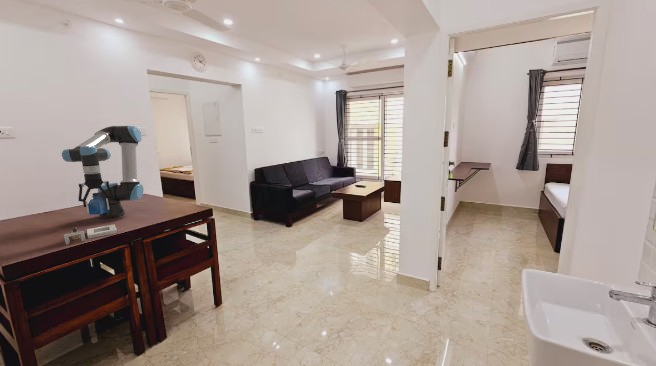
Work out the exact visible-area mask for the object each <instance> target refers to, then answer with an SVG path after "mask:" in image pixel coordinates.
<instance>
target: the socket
mask: <svg viewBox="0 0 656 366" xmlns="http://www.w3.org/2000/svg"><path fill="white" fill-rule="evenodd" d="M86 233H87V235H86V236H87V239H93V238H99V237H104V236H109V235H114V234H118V229H117V227H116V224H115V223H114V224H108V225H103V226H99V227H93V228H86Z"/></svg>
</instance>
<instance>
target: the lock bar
mask: <svg viewBox="0 0 656 366" xmlns="http://www.w3.org/2000/svg"><path fill="white" fill-rule="evenodd" d="M71 229H72V231H71V233H74V232H80V231H79V229H78V228H77V227H75V226H74V227H72V228H71ZM79 239H80V234H78V235H73V236H71V240H73V241H74V240H79Z"/></svg>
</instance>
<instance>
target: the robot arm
mask: <svg viewBox="0 0 656 366" xmlns="http://www.w3.org/2000/svg"><path fill="white" fill-rule="evenodd" d="M141 141H142V133H141V132H140V130H139V128H138V127H137V126H134V125H111V126H107V127H104V128H101V129H99V130H98V131H96V132H95V133H94V135H93V136H91V137H90V138H88V139H87V140H85V141H84V142H81V143H80V144H79V145H77V146H75V147H74V148H67V149H63V150H62V152H61V156H62V160H63V161H65V162H68V163H69V162H70V163H76V162H80V163H82V171H83V174H84V175H83V176H84V182H82V183H78V188H79V189H78V190H79V191H78V202H82V204H83V208H86V210H87V211H86V212H87V213H89V208H88V203H89V202H88V200H87V198H88V196H89V194H90V192H91V191H92V190H95V189H97V193H99V195H100V198H103V199H104V200H105V201H106V202H107V208H108V212H105V213H103V214H98V218H99V219H113V218H118V217H122V216H124V215H125V214H126V211H125V208H124V206H123V205H122V202H127V201H131V202H132V201H133V202H134V201H138V200H140V199H141V198H142V197H143V195H144V185H143V184H142V183H140V181H139V180H138V173H137V172H138V169H137V147H138V146H139V143H140V142H141ZM109 143H118V145H119V146H120V147H121V149H120V150H121V173H122V180H121V181H119V183H118V182H112V183H110V181H109V180H103V179H102V173H101V167H100V166H101V165H100V162H105V161H107V160H109V159H110V158H111V152H110V151H109V149H108V148H105V147H103V146H104V145H108V144H109ZM101 147H103V148H101ZM85 186H86V187H87V189H86V191H85V194H84V196H83V188H84V187H85ZM82 196H83V198H82Z"/></svg>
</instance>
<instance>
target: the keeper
mask: <svg viewBox="0 0 656 366" xmlns="http://www.w3.org/2000/svg"><path fill="white" fill-rule="evenodd" d="M78 234H79V235H80V239H81V242H86V234H85V230H80V231H79V232H74V233H72V232H70V233H65V234H63V237H64V242H65V246H66V245H70V243H71V242H70V237H72V236H73V235H78Z"/></svg>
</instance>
